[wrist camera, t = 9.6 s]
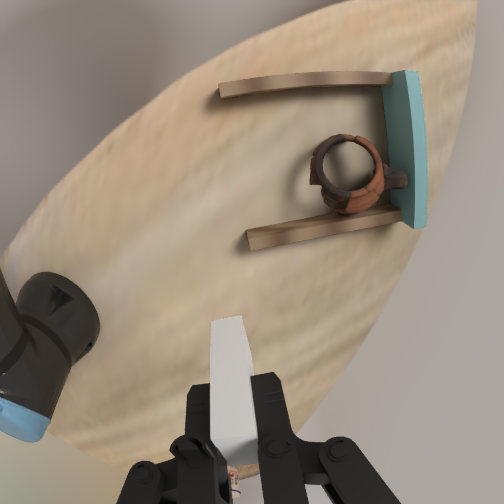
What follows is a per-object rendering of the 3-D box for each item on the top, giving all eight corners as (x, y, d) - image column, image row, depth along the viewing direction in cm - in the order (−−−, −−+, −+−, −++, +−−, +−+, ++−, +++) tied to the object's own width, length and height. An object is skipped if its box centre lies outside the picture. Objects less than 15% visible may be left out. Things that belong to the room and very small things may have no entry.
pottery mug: (312, 220, 37) (312, 211, 29) (305, 151, 37) (302, 126, 29) (401, 215, 34) (422, 205, 26) (390, 147, 34) (407, 122, 26)
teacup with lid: (243, 466, 65) (247, 500, 54) (231, 475, 68) (233, 507, 57) (202, 460, 62) (203, 497, 51) (193, 470, 65) (193, 503, 54)
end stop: (390, 213, 37) (414, 229, 31) (379, 75, 29) (404, 70, 23) (401, 211, 37) (426, 226, 31) (391, 76, 29) (418, 71, 23)
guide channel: (248, 241, 37) (250, 250, 34) (218, 87, 28) (218, 83, 26) (390, 213, 37) (401, 221, 34) (379, 75, 29) (391, 72, 26)
